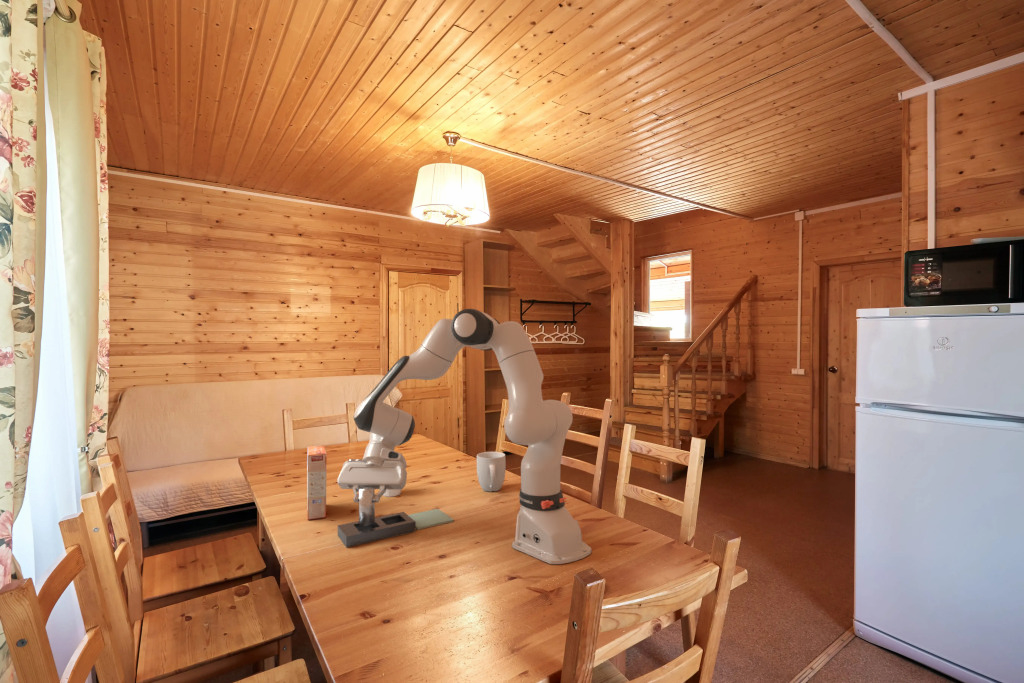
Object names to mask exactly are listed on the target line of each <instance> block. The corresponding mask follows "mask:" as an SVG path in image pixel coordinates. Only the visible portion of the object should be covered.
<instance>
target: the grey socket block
mask: <svg viewBox="0 0 1024 683" xmlns="http://www.w3.org/2000/svg"><path fill="white" fill-rule="evenodd" d="M408 515H409V514H407V513H406V512H405V511H400V512H395V513H390V514H386V515H381V516H375V523H374V524H372V525H368V526H362V525H359V520H356V521H351V522H347V523H343V524H337V537H338V538H339V540H340V541H341V542H342V544H343V545H344V546H345V548H351V547H355V546H359V545H364V544H368V543H372V542H377V541H380V540H385V539H389V538H395V537H399V536H402V535H408V534H412V533H416V530H417V529H416V524H415V521H414V520H413V519H412V518H411V517H409V516H408Z"/></svg>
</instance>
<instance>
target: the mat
mask: <svg viewBox="0 0 1024 683" xmlns="http://www.w3.org/2000/svg"><path fill="white" fill-rule="evenodd" d="M407 515H408V516H409V517H411V518H412V519H413V520H414V521H415V524H416V530H417V531H418V530H423V529H427V528H431V527H434V526H435V527H436V526H440V525H444V524H448V523H453V522H454V521H455V519H453V518H452V517H451V516H449V515H448V514H446V513H445V512H444V511H442V510H440V509H439V508H434V509H429V510H425V511H420V512H416V513H412V514H407ZM454 523H455V522H454Z"/></svg>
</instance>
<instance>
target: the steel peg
mask: <svg viewBox="0 0 1024 683" xmlns="http://www.w3.org/2000/svg"><path fill="white" fill-rule="evenodd" d="M358 494H359V502H358V521H359V525H362V526H368V525H372V524H374V523H375V517H376V511H375V510H376V508H375V507H376V506H375V505H376V504H375V503H376V502H374V501H373V496H374V494H376V493H375V489H374V487H373V486H365V487H361V488H359V492H358Z"/></svg>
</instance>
